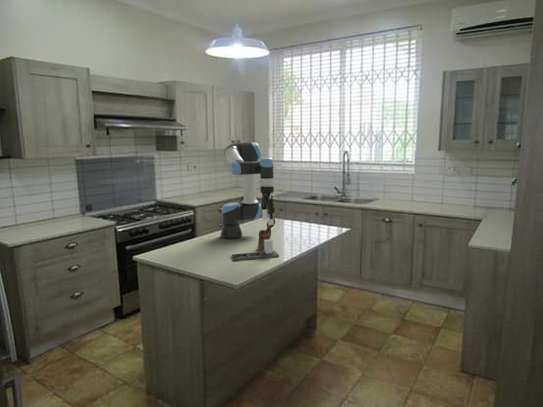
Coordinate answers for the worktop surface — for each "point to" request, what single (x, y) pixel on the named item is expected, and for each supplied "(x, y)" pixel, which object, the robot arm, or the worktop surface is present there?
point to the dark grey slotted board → (249, 256)
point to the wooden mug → (264, 235)
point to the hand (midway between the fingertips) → (267, 222)
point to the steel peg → (268, 247)
